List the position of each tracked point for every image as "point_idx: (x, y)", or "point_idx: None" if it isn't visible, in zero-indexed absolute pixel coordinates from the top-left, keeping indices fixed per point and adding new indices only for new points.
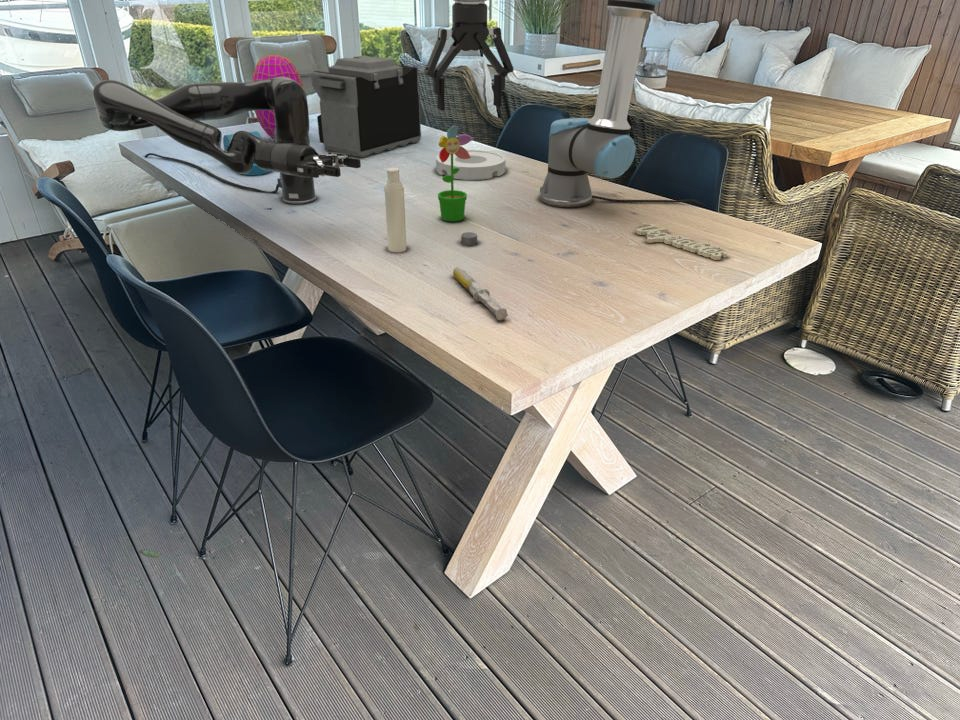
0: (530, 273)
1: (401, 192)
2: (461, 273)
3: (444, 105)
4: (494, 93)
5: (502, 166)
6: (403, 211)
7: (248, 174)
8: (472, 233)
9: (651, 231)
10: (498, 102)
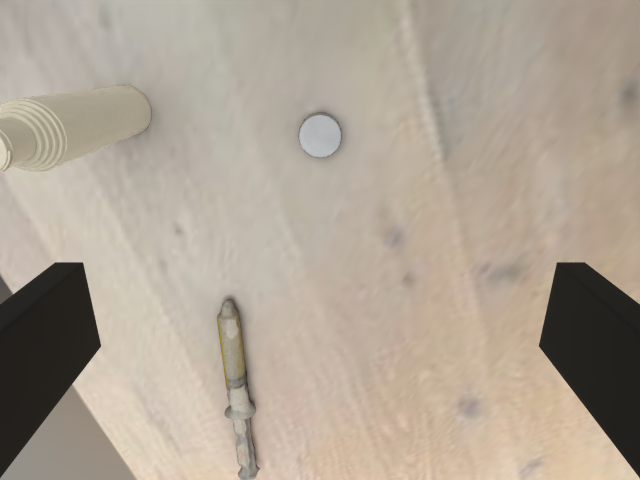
0: (375, 334)
1: (62, 163)
2: (224, 348)
3: (82, 367)
4: (610, 330)
5: None
6: (99, 146)
7: None
8: (332, 129)
9: None
10: (560, 366)
